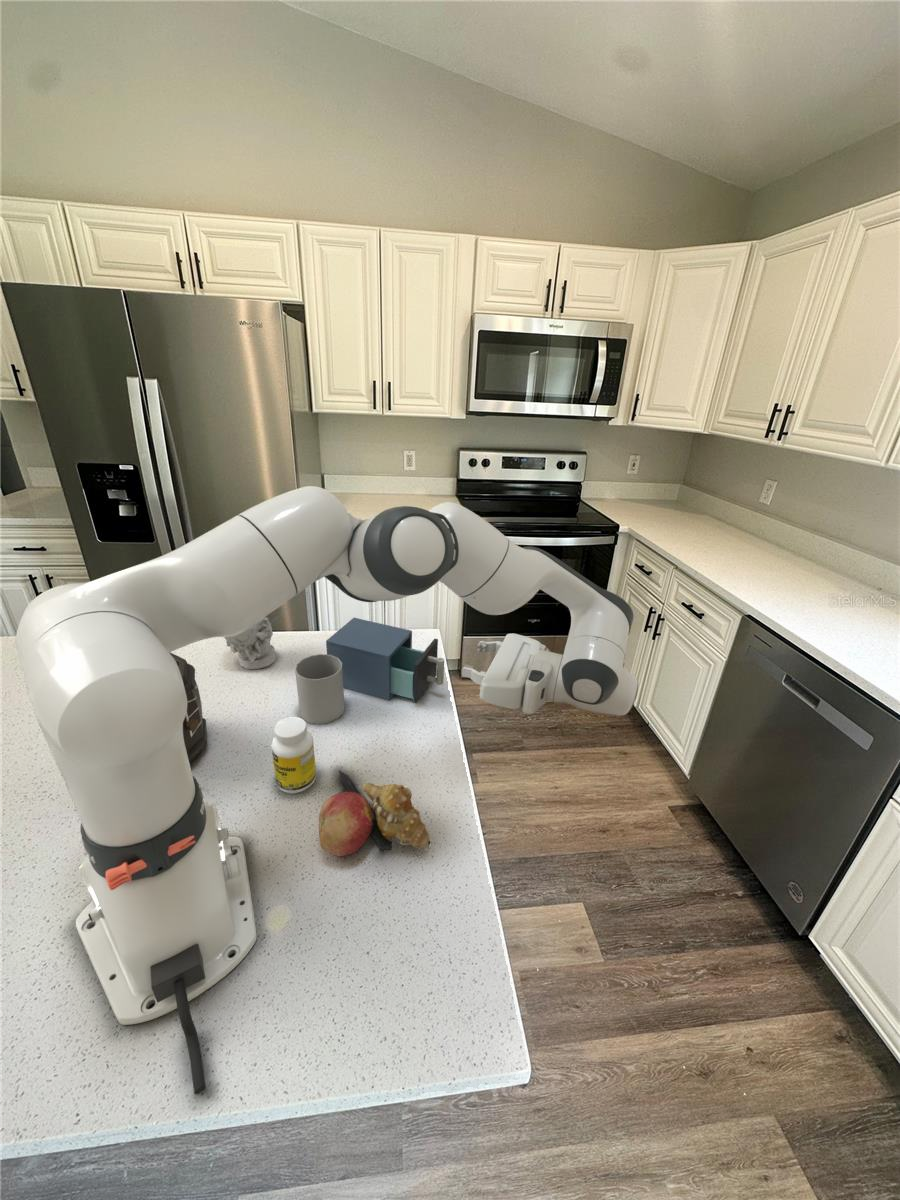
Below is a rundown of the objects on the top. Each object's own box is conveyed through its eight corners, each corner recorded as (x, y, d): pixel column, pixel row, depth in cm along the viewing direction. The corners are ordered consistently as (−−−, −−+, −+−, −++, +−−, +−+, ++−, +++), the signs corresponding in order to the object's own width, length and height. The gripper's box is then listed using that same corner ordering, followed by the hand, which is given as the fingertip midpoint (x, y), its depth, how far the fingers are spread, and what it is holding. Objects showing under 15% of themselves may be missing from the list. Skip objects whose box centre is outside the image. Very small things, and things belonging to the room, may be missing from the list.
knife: (399, 843, 68) (380, 852, 66) (398, 848, 68) (379, 856, 67) (346, 765, 81) (329, 770, 80) (346, 769, 82) (329, 774, 80)
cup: (349, 698, 98) (347, 656, 94) (337, 725, 91) (334, 681, 86) (308, 694, 99) (304, 652, 94) (293, 721, 91) (287, 676, 87)
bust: (291, 662, 106) (267, 601, 101) (241, 683, 102) (214, 620, 96) (282, 648, 115) (259, 591, 110) (236, 666, 111) (211, 608, 106)
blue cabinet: (411, 672, 108) (412, 630, 103) (389, 700, 98) (388, 656, 94) (355, 657, 112) (353, 617, 107) (329, 683, 102) (325, 640, 98)
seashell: (379, 839, 74) (441, 837, 72) (354, 859, 67) (422, 857, 64) (374, 776, 76) (434, 772, 73) (349, 788, 68) (415, 784, 66)
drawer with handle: (451, 679, 104) (453, 642, 100) (432, 708, 95) (434, 669, 91) (380, 661, 109) (379, 625, 105) (356, 687, 100) (354, 649, 96)
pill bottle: (268, 785, 77) (259, 731, 73) (296, 760, 82) (289, 708, 78) (297, 801, 75) (290, 746, 70) (324, 774, 80) (320, 721, 75)
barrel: (163, 807, 73) (139, 724, 66) (61, 784, 76) (27, 702, 69) (234, 728, 89) (221, 655, 82) (148, 711, 92) (127, 639, 85)
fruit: (336, 771, 68) (345, 819, 62) (377, 787, 73) (389, 833, 66) (302, 808, 70) (307, 859, 63) (344, 821, 74) (353, 870, 67)
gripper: (553, 634, 97) (487, 619, 101) (533, 690, 80) (454, 670, 84) (549, 661, 100) (484, 646, 104) (528, 721, 82) (452, 700, 86)
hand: (470, 657), depth 94 cm, fingers open, 8 cm apart
